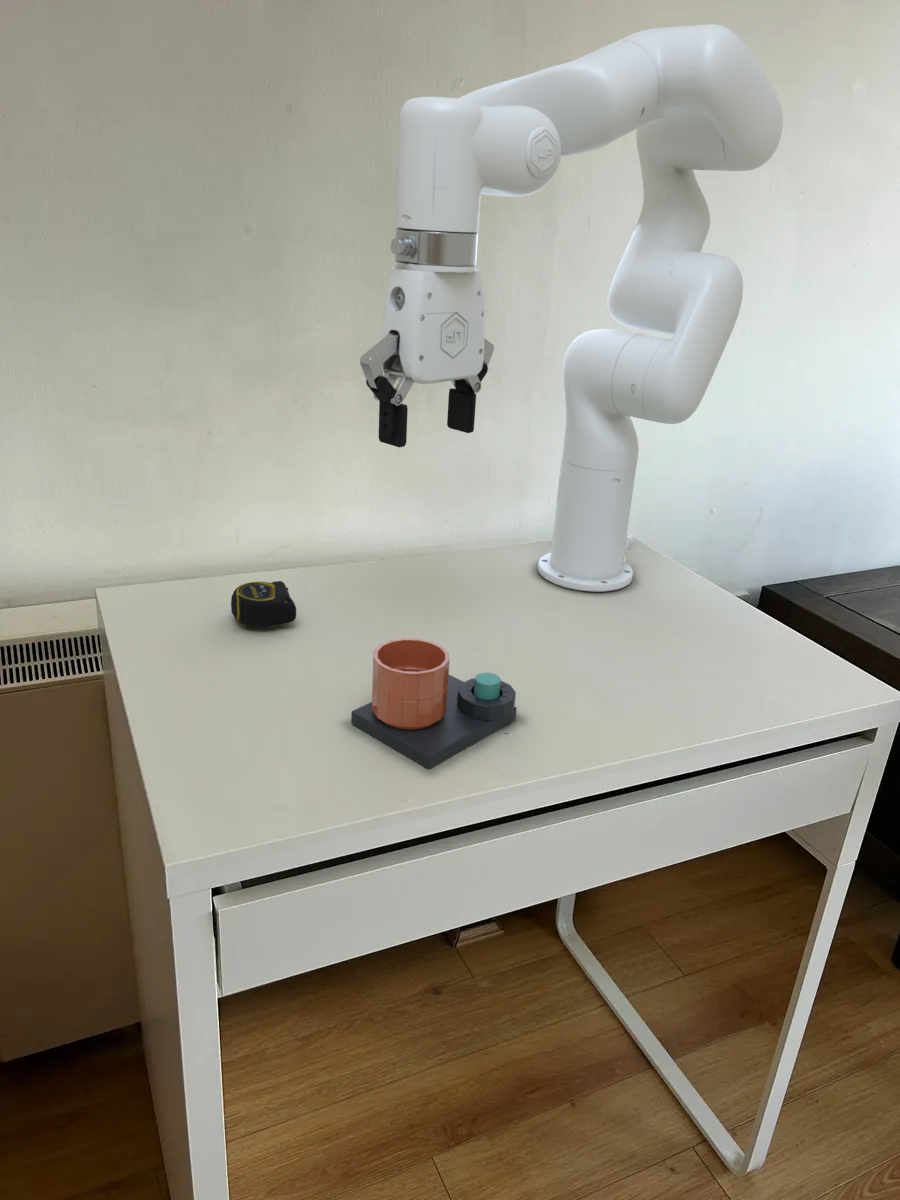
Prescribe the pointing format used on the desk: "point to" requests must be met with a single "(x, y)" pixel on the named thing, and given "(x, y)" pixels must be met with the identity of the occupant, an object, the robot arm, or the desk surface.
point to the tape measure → (263, 604)
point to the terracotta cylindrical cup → (410, 683)
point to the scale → (445, 724)
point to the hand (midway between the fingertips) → (427, 436)
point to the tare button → (487, 686)
